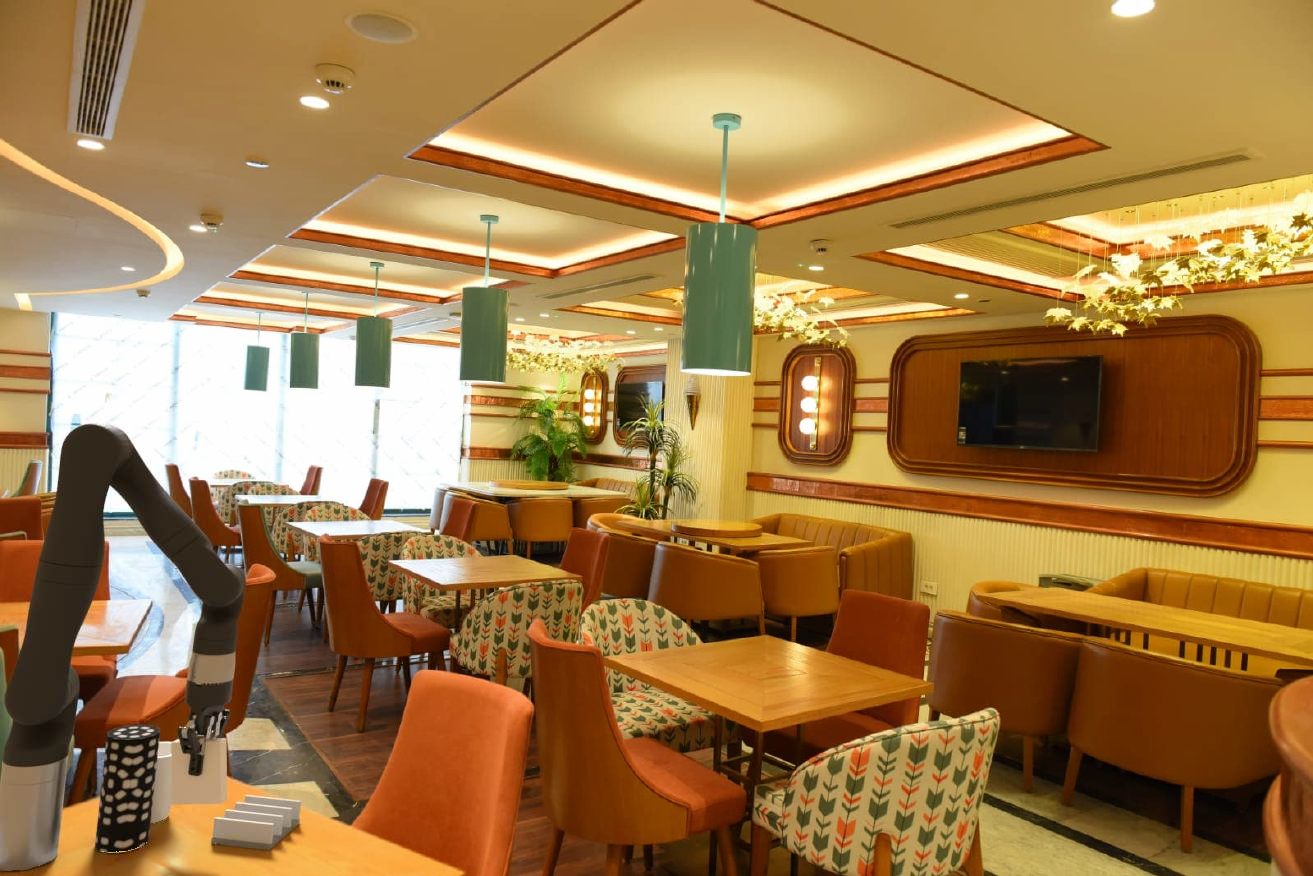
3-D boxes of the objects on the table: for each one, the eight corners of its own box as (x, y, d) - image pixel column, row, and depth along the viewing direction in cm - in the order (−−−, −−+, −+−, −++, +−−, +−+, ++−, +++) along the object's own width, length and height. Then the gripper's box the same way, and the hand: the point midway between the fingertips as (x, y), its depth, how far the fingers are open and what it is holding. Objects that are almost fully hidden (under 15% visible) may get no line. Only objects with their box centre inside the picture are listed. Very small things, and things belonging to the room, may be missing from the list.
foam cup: (187, 817, 167) (194, 750, 168) (137, 832, 160) (145, 762, 160) (161, 803, 172) (168, 738, 173) (112, 817, 165) (119, 749, 165)
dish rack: (210, 843, 158) (213, 819, 158) (245, 817, 170) (247, 794, 170) (269, 850, 157) (271, 825, 157) (299, 823, 169) (301, 800, 169)
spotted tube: (123, 857, 150) (135, 742, 151) (83, 849, 152) (95, 735, 152) (159, 838, 158) (171, 729, 159) (121, 830, 160) (132, 722, 160)
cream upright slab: (171, 804, 154) (171, 742, 154) (178, 800, 156) (178, 739, 156) (220, 804, 153) (220, 741, 154) (226, 799, 155) (226, 738, 156)
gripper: (212, 665, 162) (200, 757, 162) (167, 682, 149) (154, 783, 148) (250, 669, 162) (239, 762, 161) (209, 688, 148) (196, 789, 148)
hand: (198, 772), depth 155 cm, fingers closed on cream upright slab, 2 cm apart
